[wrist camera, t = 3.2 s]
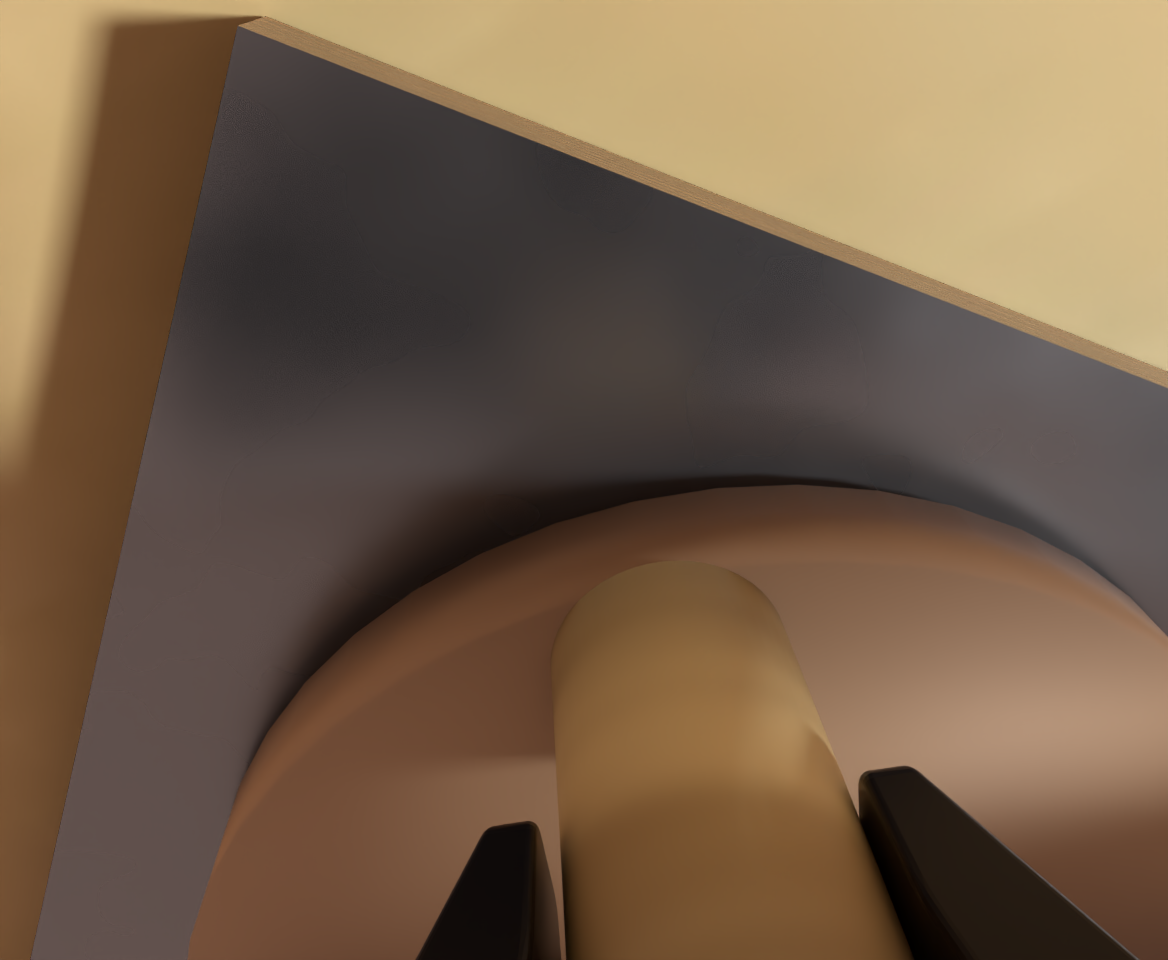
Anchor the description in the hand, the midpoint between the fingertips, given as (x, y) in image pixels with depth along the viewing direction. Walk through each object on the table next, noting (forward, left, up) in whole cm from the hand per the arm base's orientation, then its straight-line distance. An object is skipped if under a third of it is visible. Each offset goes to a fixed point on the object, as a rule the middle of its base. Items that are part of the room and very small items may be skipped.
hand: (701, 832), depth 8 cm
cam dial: (-3, +5, -4) cm, 7 cm away
